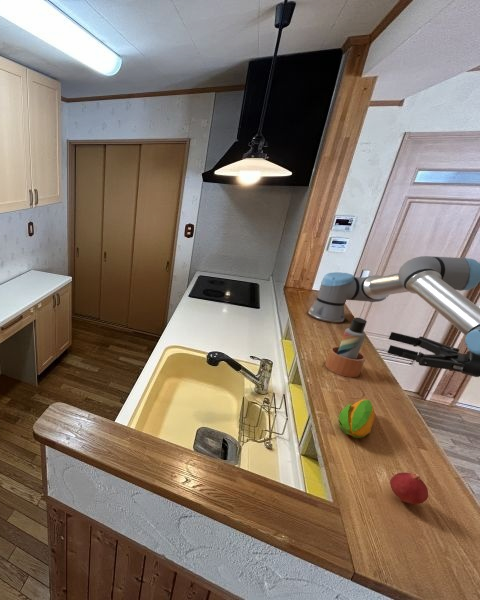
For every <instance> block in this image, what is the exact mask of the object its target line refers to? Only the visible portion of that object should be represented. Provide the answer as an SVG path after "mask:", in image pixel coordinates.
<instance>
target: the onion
mask: <svg viewBox="0 0 480 600" xmlns="http://www.w3.org/2000/svg"><path fill="white" fill-rule="evenodd" d="M389 485H390V488H391V490H392V492H393V494H395V496H396V497H397V498H398V499H399V500H400V502H403V503H407V504H410V505H419V504H424V502H426V501H427V500H428V498H429V490H428V489H429V488H428V487H427V485H426V483H425V482H424V480H422V479H421V477H420V475H419V474H418V473H412V472H398V473H395V474H394V475H393V476H392V477H391V479H390V480H389Z"/></svg>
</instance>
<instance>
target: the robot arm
mask: <svg viewBox="0 0 480 600" xmlns="http://www.w3.org/2000/svg"><path fill="white" fill-rule="evenodd" d="M322 277H323V278H322V280H321V281H320V286H319V289H318V293H317V296H316V300H315V301H314V302H313V304H312V305H311V306H310V308H309V309H308V312H307V315H308V316H309V317H311V318H312V319H315V320H318V321H321V322H326V323H331V324H341V323H343V322H344V321H345V322H348V321H349V319H347V318H346V316H345V315H346V314H345V304H346V302H347V301H358V302H369V303H377V302H383V301H384V300H386V299H387V298H388V297H389V296H390V295H396V294H402V293H411V294H416V295H417V296H419V297H420V298H421V299H422V300H423V301H425V302H426V303H427V305H429V306H430V307H432V308H433V309H434V310H435V311H436V312H437V313H438V314H440V316H442V317H443V318H444V319H446V321H448V322H449V323H450V324H451V325H452V326H454V328H456V329H457V330H458V331H460V333H462V334H463V335H464V336H465V338H464V344H465V345H466V348H467V350H468V351H466V353H461V352H460V348H458V347H453V346H450V345H446V344H444V343H441V342H438V341H435V340H432V339H429V338H426V337H424V336H419V337H414V336H410V335H406V334H402V333H398V332H395V331H391V332H390V334H389V336H388V340H390V341H394V342H398V343H402V344H406V345H409V346H413V347H419V348H421V349H423V350H425V351H427V352H430V353H428V354H426V353H423V352H421V351H419V352H417V351H414V350H412V349H407V348H404V347H401V346H396V345H392V344H389V348H388V349H387V351H386V352H387V354H389V355H392V356H397V357H399V358H404V359H408V360H410V361H415V362H416V363H418V366H421V367H427V368H433V369H434V368H436V369H442V370H447V371H448V370H450V371H453V372H458V373H461V374H463V375H466V376H470V377H474V378H479V377H480V307H479V306H478V305H477V304H475V303H474V302H472V301H471V300H470V299H469V298H468V297H466V296H465V295H463V294H462V293H461V292H462V291H470V290H472V289H474V288H476V287H477V286H478V285H479V283H480V262H478V260H477V259H474V258H467V257H451V256H450V257H449V256H428V255H423V256H416V257H413V258H411V259H408V260H407V261H405V262H404V263H403V264H402V265H401V266H400V268H399V269H398V272H396V273H391V274H388V275H379V274H375V275H370V276H365V277H364V276H363V277H361V276H354V274H351V273H348V272H338V271H335V272H328V273H326V274H324V275H323V276H322ZM460 291H461V292H460ZM431 353H432V354H431Z"/></svg>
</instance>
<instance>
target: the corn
mask: <svg viewBox="0 0 480 600" xmlns="http://www.w3.org/2000/svg"><path fill="white" fill-rule="evenodd" d="M375 416H376V413H375V408H374V404H373V402H372V401H371V400H370V399H367V398H366V399H365V398H362V399H360V400H358V401H357V402H355V403H354V404H352V403H348V404H347V405H346V406H345V407H343V409H342V410H341V411H340V412H339V415H338V423H339V427H340V429H341V430H342V432H343V433H344V434H345V435H349V436H350V437H352V438H357V439H361V438H366V437H368V436H370V433H371V431H372V428H373V424H374V420H375Z"/></svg>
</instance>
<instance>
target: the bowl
mask: <svg viewBox="0 0 480 600" xmlns="http://www.w3.org/2000/svg"><path fill="white" fill-rule="evenodd" d="M339 347H340V345H338V346H337V345H336V346H335V345H334V346H331V347H330V349H329V351H328V354H327V357H326V360H325V364H324V365H325V367H326V368H327V370H328V371H331V372H332V373H334V374H337V375H339V376H342V377H343V376H344V377H347V378H356V377H359V376H360V374H361V371H362V368H363V366H364V364H365V362H366V355H364V354H363V353H361V352H360V351H359V354H358V356H357V359H356V360H355V359H349V358H346V357H343V356H340V355H338V354H337V353H338V350H339Z"/></svg>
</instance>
